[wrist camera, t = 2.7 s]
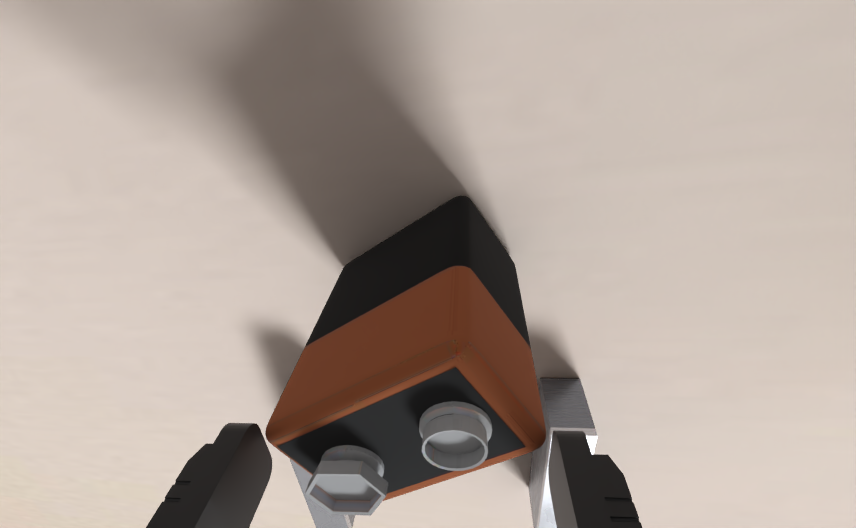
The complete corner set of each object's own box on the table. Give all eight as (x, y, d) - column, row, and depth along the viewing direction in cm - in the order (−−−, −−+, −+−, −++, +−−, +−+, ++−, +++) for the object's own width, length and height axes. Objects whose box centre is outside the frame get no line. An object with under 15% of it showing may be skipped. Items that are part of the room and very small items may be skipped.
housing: (301, 374, 23) (277, 426, 20) (579, 378, 21) (597, 436, 18) (333, 479, 28) (318, 533, 25) (560, 489, 27) (571, 547, 24)
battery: (340, 264, 19) (236, 469, 10) (464, 186, 17) (462, 372, 8) (397, 327, 21) (348, 548, 12) (518, 265, 18) (563, 487, 10)
